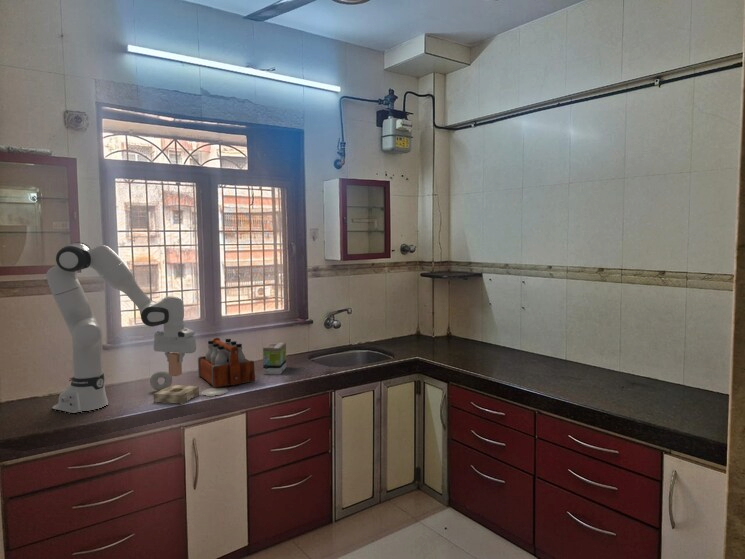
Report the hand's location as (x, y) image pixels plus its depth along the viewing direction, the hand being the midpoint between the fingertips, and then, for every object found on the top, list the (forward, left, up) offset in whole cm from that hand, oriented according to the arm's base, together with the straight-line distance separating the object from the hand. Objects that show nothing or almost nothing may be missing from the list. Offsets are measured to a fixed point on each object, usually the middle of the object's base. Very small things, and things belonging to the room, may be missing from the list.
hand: (175, 361), depth 230 cm
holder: (0, 0, -17) cm, 17 cm away
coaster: (+12, +12, -17) cm, 24 cm away
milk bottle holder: (+5, +34, -17) cm, 39 cm away
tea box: (+23, +55, -18) cm, 62 cm away
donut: (-15, +9, -17) cm, 25 cm away
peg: (0, 0, -6) cm, 6 cm away
